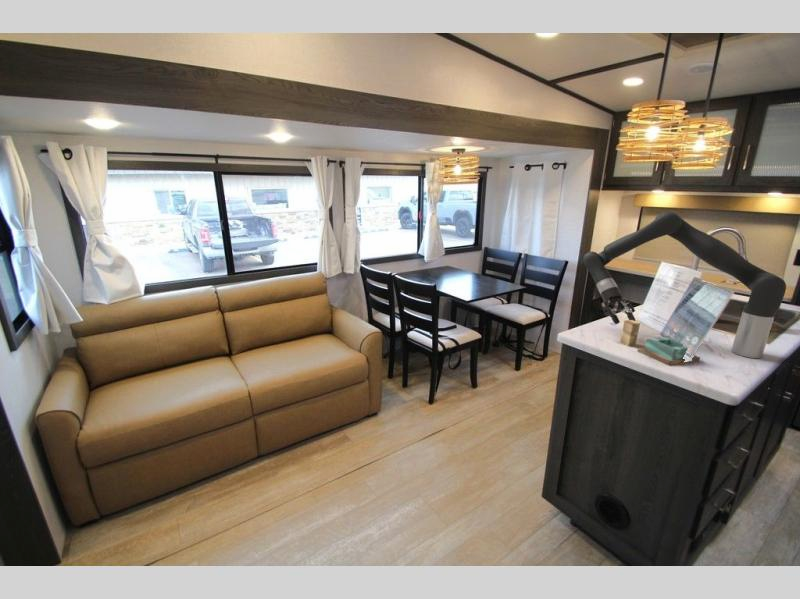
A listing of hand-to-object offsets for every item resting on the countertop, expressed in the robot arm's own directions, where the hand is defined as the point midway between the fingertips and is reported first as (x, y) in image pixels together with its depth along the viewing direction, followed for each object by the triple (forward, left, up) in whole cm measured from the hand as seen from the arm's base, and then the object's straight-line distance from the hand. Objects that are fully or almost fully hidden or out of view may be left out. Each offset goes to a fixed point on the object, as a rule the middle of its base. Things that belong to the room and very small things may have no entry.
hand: (625, 322), depth 158 cm
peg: (0, +3, -8) cm, 9 cm away
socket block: (-5, +17, -8) cm, 20 cm away
